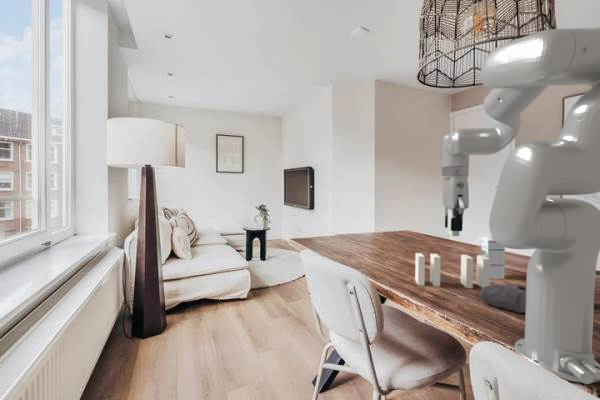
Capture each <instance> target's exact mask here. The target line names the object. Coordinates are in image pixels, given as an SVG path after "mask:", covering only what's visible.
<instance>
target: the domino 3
mask: <svg viewBox="0 0 600 400" xmlns="http://www.w3.org/2000/svg"><path fill="white" fill-rule="evenodd" d="M454 208H458V207H454ZM455 213H456V211H455ZM451 218H452V209H451V208H448V226H447V228H446V229H447V231H446V233H447V234H448V235H450V236H451V237H460V231H451Z"/></svg>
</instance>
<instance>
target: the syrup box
mask: <svg viewBox="0 0 600 400" xmlns="http://www.w3.org/2000/svg"><path fill="white" fill-rule="evenodd" d="M505 249H506V247H503V246H501V245H500V244H498V243H497V242H496V241H495V240H494V239H493V237H492V236H481V255H484V256H485V257H487V258H489V259H490V279H493V280H495V279H496V280H505V271H506V270H505V269H506V268H505V267H506V265H505V262H506V261H505V260H506V259H505V258H506V257H505V255H506V253H505V252H506V251H505Z"/></svg>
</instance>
